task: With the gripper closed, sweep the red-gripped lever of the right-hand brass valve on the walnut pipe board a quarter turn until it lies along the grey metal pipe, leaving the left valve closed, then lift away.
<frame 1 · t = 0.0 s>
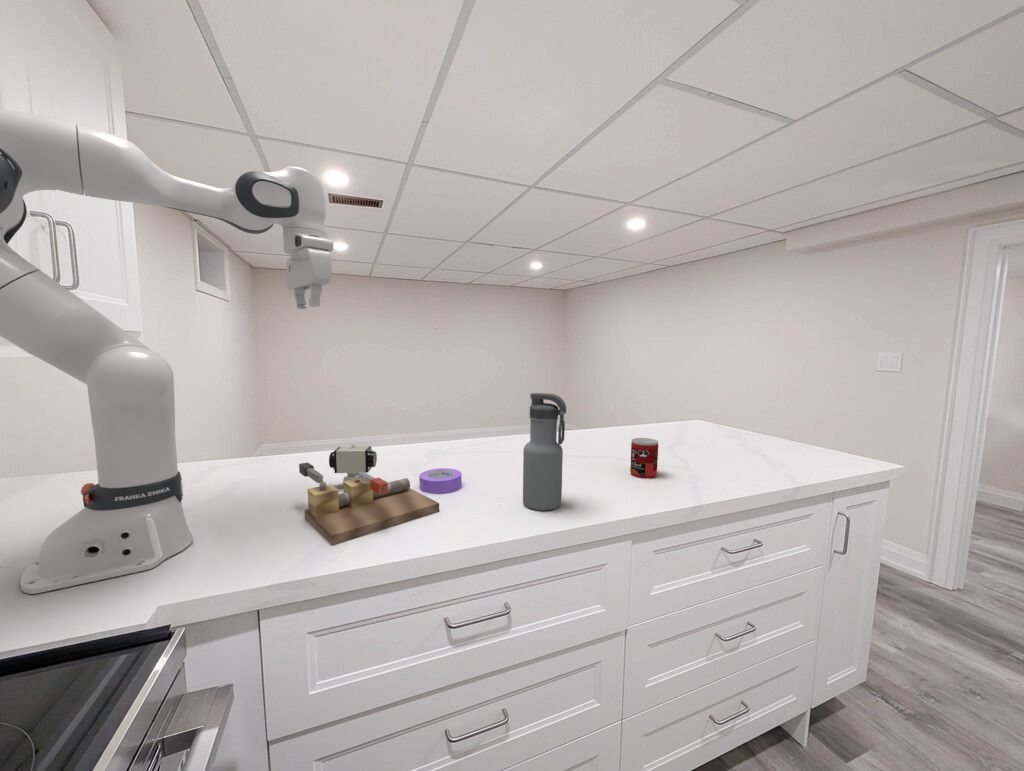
hand: (307, 307, 95), 48 cm above the worktop, tool pointing down, fingers open, 8 cm apart
pneumatic valve: (354, 486, 115), on the worktop
water bottle: (542, 504, 104), on the worktop
masking tape: (440, 487, 116), on the worktop
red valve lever: (369, 481, 93), point 9 cm above the worktop, hinge at 0.0°
pipe board: (373, 514, 96), on the worktop
canned food: (643, 475, 128), on the worktop
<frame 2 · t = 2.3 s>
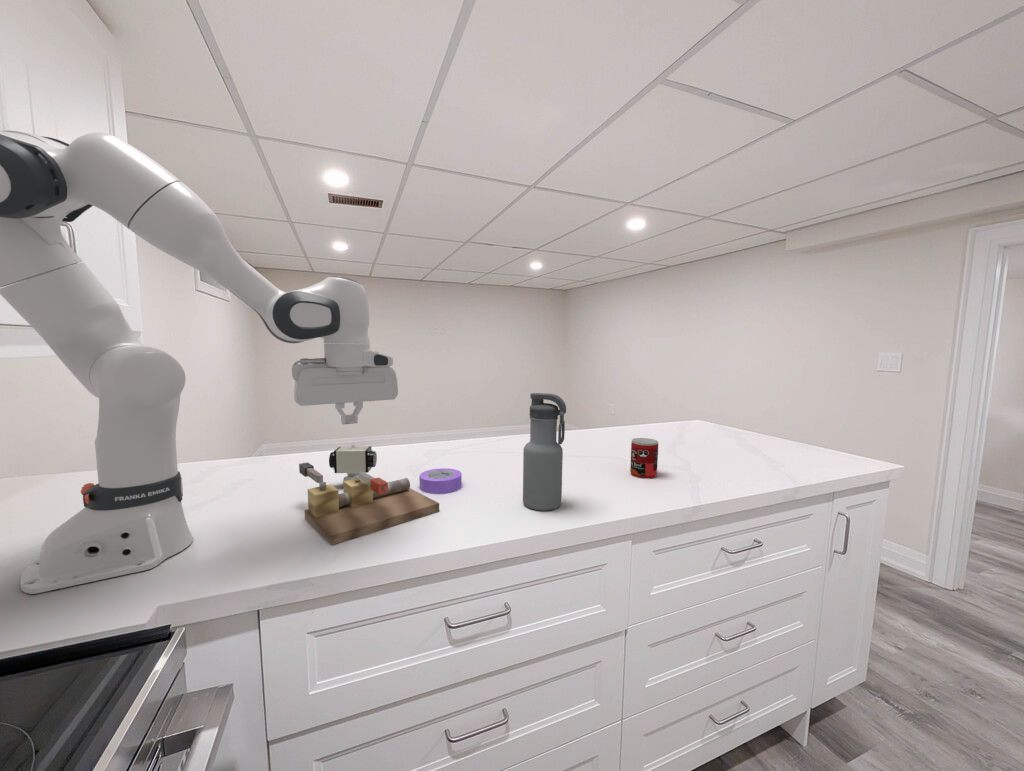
hand: (349, 423, 86), 23 cm above the worktop, tool pointing down, fingers closed
nothing on the worktop moved.
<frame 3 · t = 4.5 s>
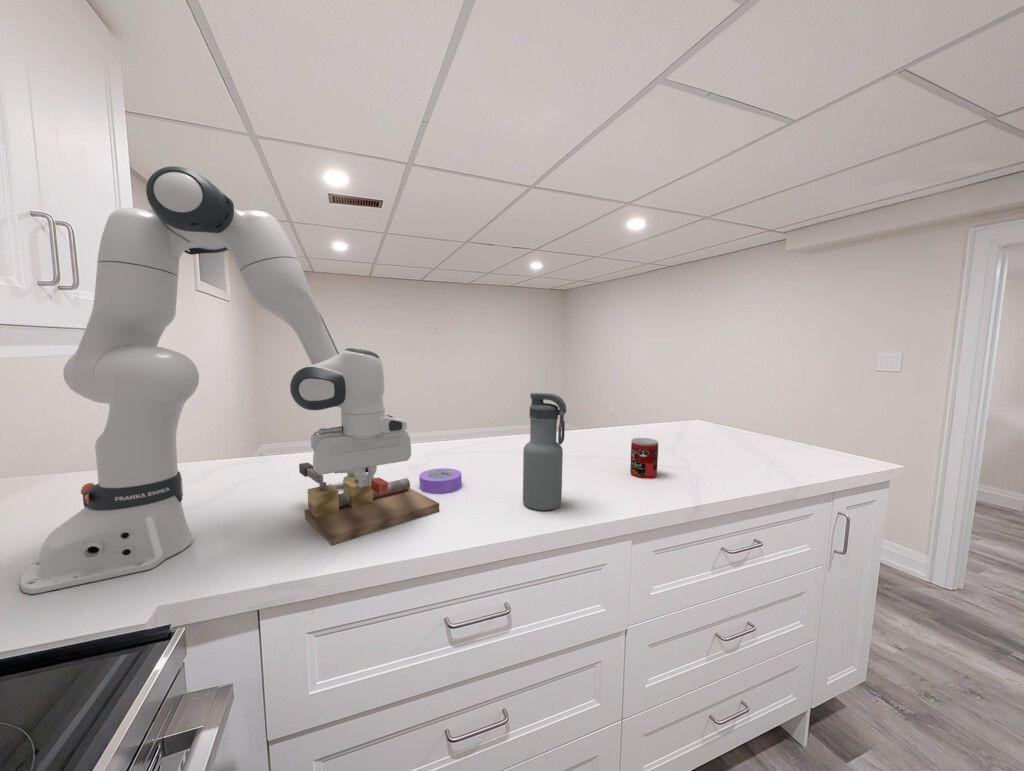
hand: (365, 486, 90), 9 cm above the worktop, tool pointing down, fingers closed
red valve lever: (369, 481, 93), point 9 cm above the worktop, hinge at 0.5°, touching gripper
everything else where it was.
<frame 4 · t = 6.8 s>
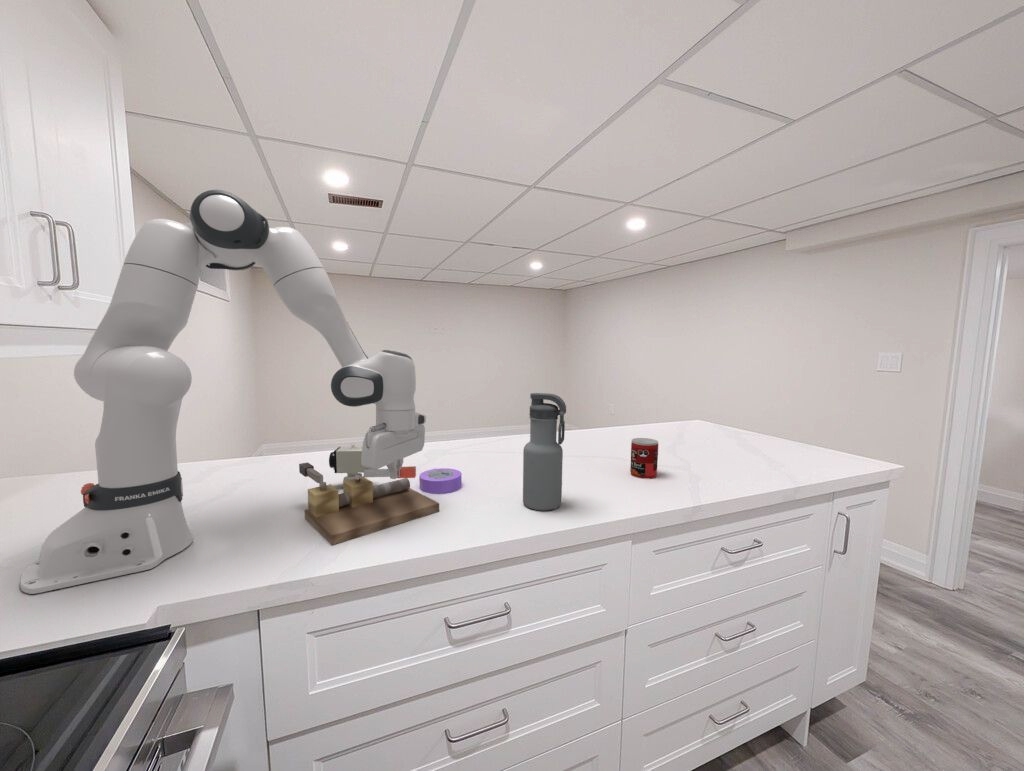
hand: (394, 477, 97), 8 cm above the worktop, tool pointing down, fingers closed
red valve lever: (385, 474, 98), point 9 cm above the worktop, hinge at 54.0°, touching gripper
everything else where it was.
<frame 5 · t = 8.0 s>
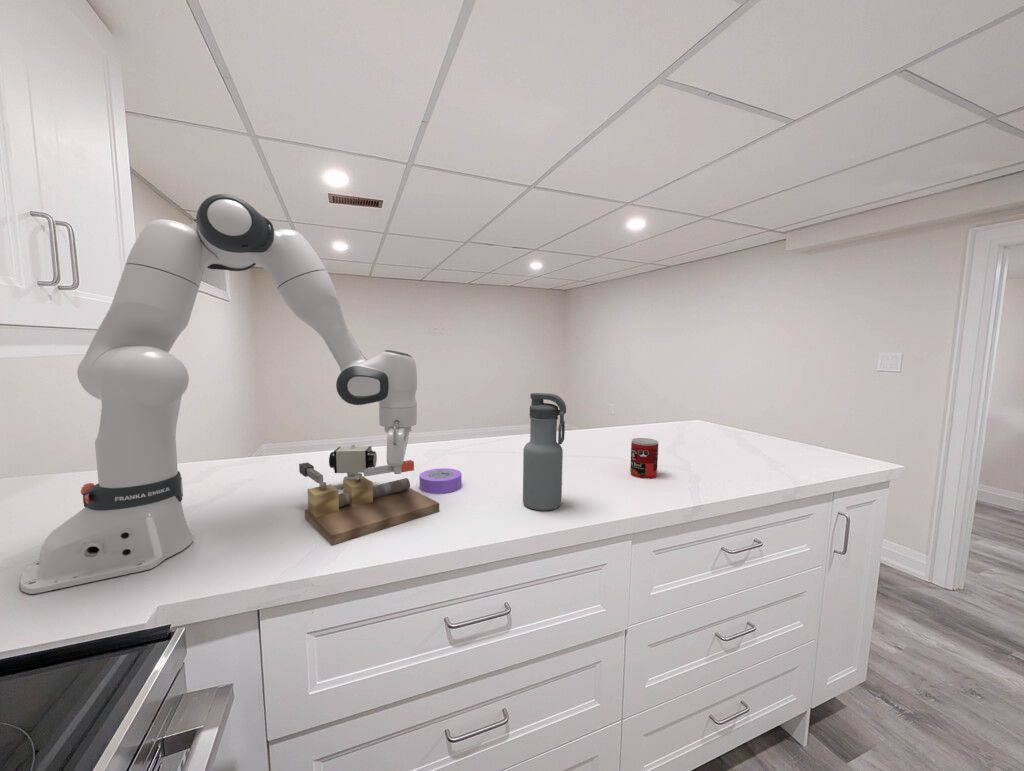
hand: (397, 473, 101), 8 cm above the worktop, tool pointing down, fingers closed
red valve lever: (384, 470, 101), point 9 cm above the worktop, hinge at 79.6°, touching gripper
everything else where it was.
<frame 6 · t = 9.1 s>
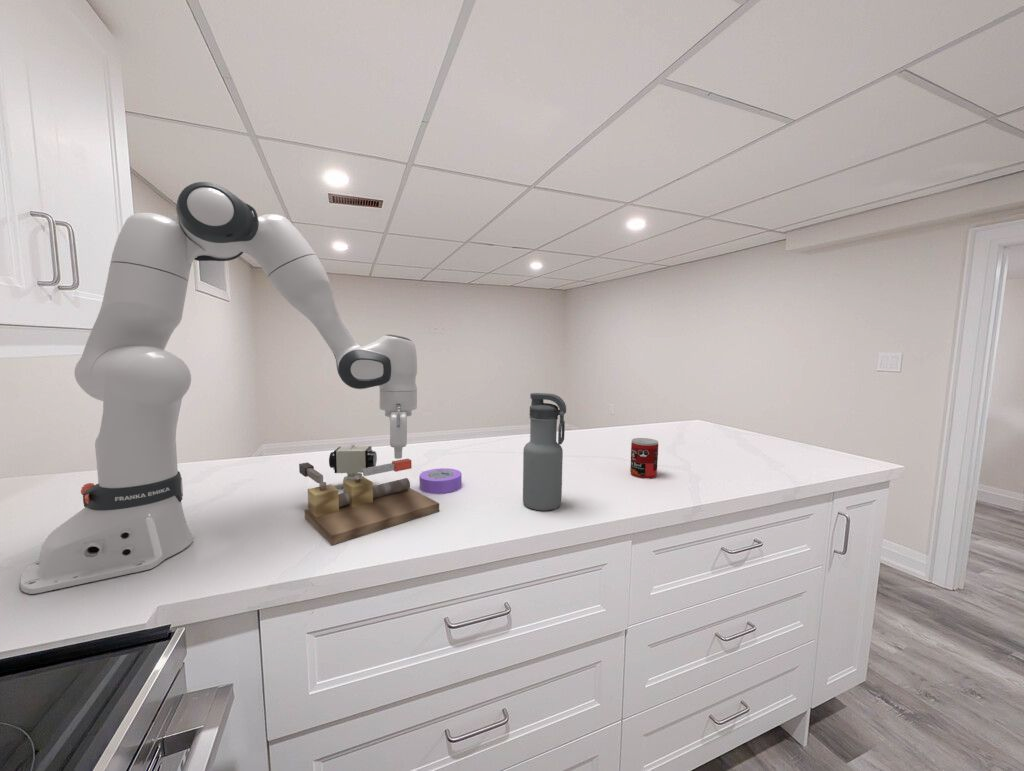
hand: (398, 457, 101), 12 cm above the worktop, tool pointing down, fingers closed
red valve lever: (383, 469, 102), point 9 cm above the worktop, hinge at 87.7°
everything else where it was.
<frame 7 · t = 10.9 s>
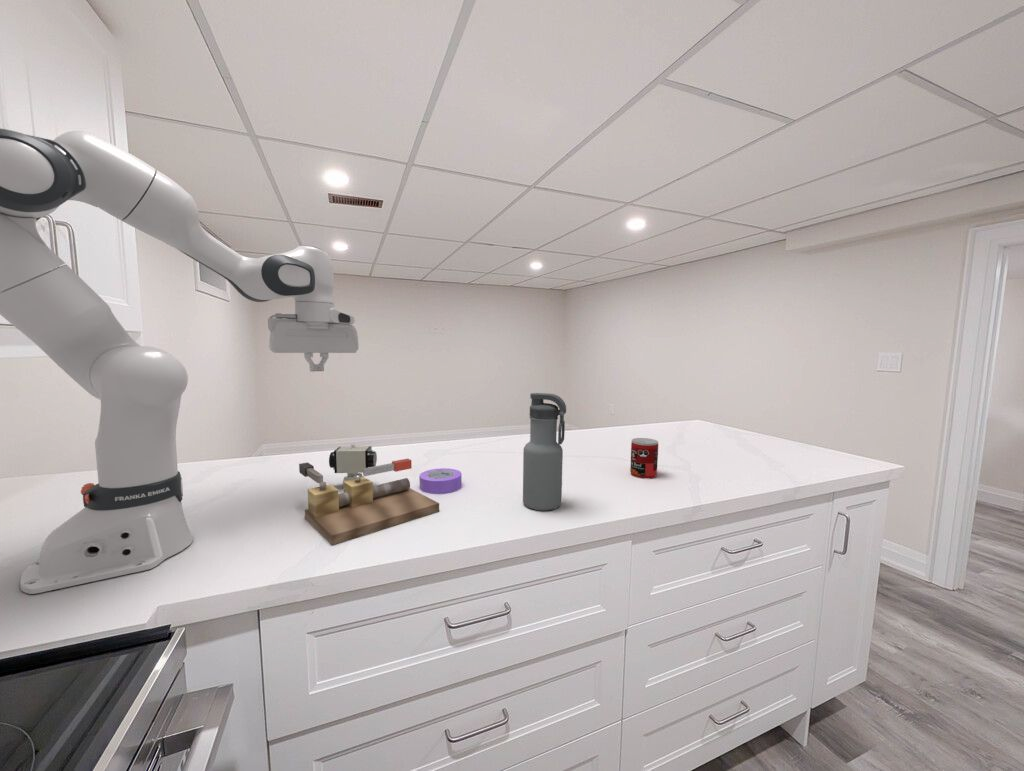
hand: (317, 371, 103), 33 cm above the worktop, tool pointing down, fingers closed
nothing on the worktop moved.
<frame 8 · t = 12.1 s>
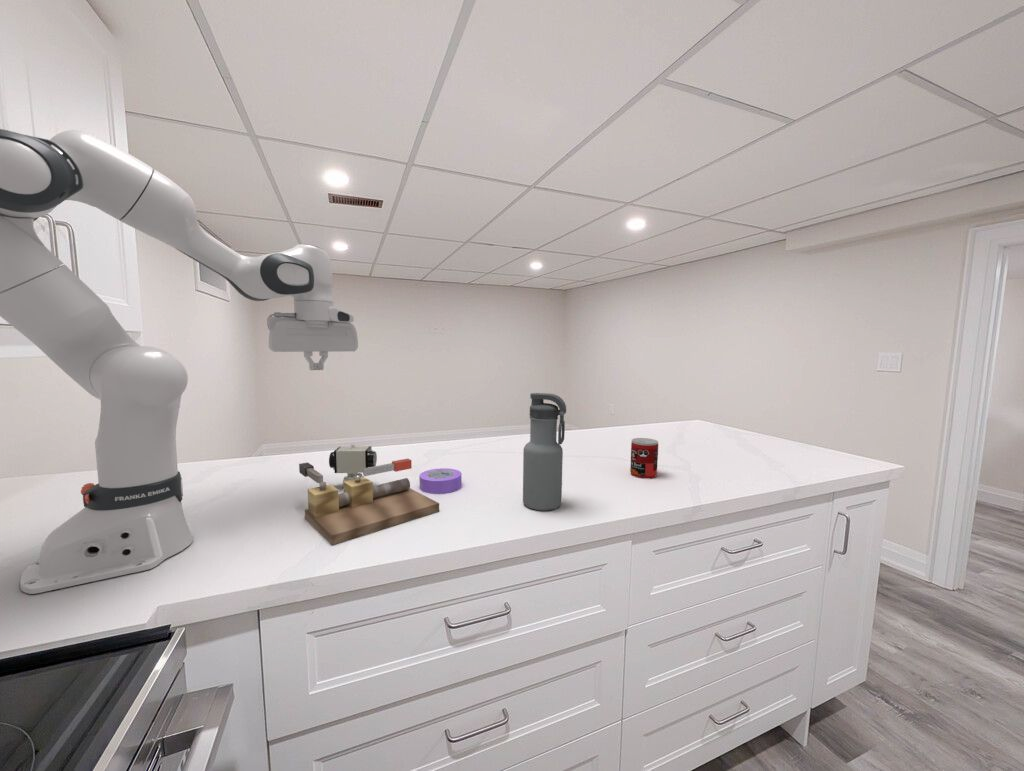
hand: (316, 370, 103), 33 cm above the worktop, tool pointing down, fingers closed
nothing on the worktop moved.
at the end: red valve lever at +88° (first picture: +0°); pneumatic valve moved 0.2 cm from its start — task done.
